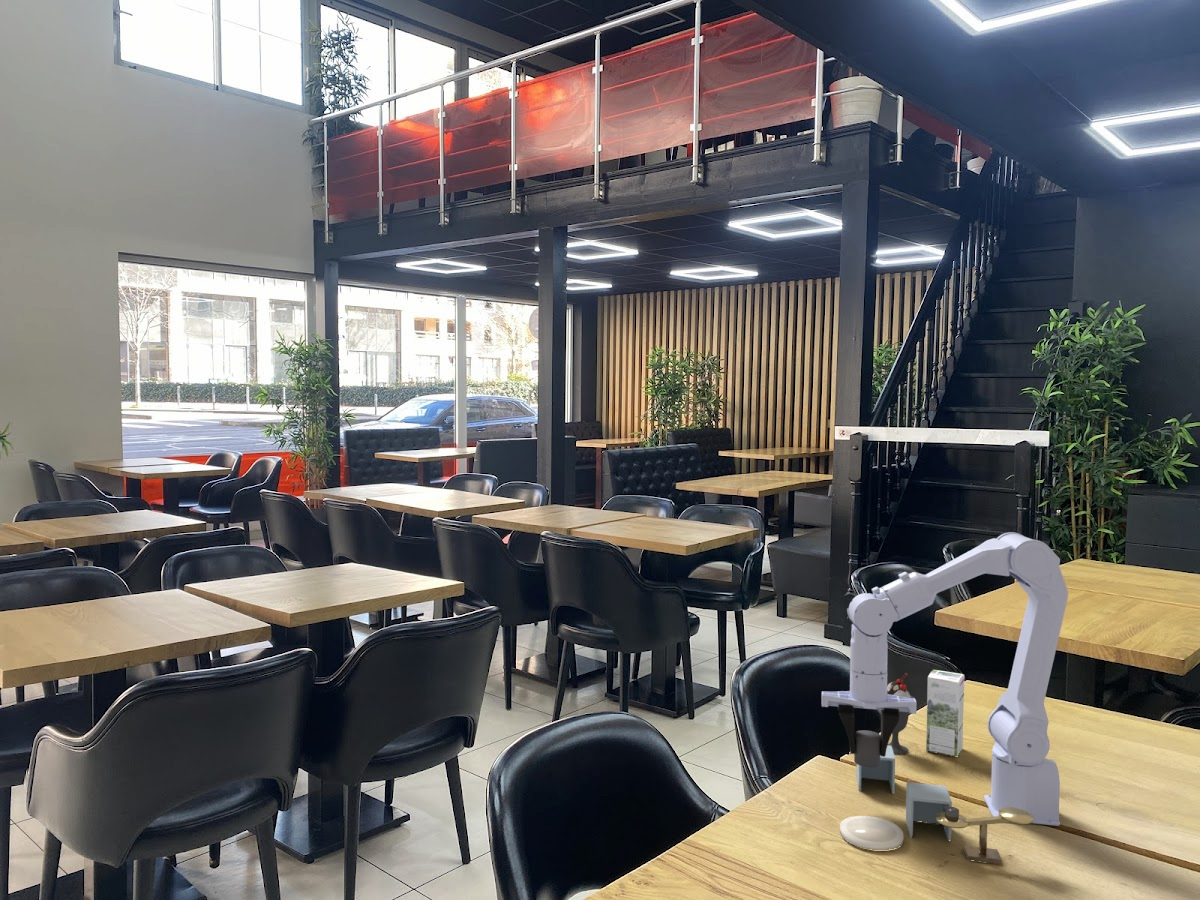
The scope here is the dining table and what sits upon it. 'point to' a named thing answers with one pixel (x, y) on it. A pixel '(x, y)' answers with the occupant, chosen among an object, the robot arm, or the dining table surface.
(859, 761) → the dark grey cylinder
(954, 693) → the syrup box
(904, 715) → the sundae
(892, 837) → the dish
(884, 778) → the cover
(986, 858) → the balance
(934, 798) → the cover
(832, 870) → the dining table surface
